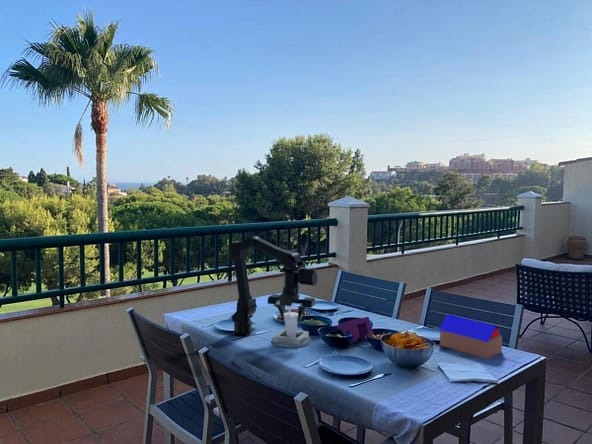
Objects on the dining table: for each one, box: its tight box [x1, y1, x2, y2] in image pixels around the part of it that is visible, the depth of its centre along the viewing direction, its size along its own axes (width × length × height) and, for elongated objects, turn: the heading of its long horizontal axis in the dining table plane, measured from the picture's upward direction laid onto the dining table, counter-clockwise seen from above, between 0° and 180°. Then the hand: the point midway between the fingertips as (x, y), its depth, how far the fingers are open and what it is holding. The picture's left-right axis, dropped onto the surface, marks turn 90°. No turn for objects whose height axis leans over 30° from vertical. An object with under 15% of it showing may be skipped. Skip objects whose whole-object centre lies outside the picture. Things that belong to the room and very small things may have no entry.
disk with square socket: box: [271, 328, 312, 349], centre depth 186 cm, size 16×16×3 cm
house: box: [438, 314, 504, 360], centre depth 178 cm, size 12×20×12 cm, turn 41°
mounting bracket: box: [332, 316, 373, 344], centre depth 192 cm, size 10×8×18 cm
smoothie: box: [283, 305, 299, 338], centre depth 186 cm, size 6×6×14 cm
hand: (291, 321), depth 186 cm, fingers closed on smoothie, 6 cm apart
